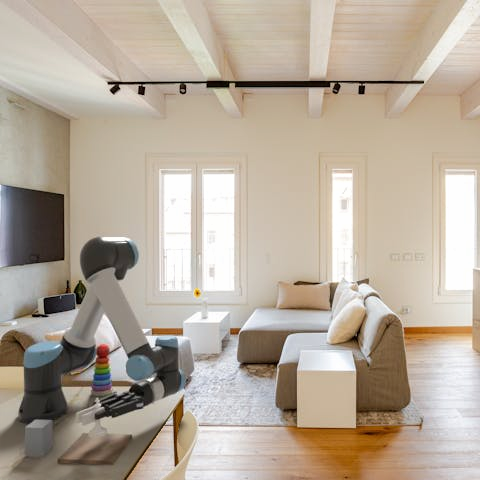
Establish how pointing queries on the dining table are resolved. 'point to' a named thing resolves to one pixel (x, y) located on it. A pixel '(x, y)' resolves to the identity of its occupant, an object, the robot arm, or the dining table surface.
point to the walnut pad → (96, 449)
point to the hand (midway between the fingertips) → (80, 419)
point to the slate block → (38, 438)
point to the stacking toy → (102, 373)
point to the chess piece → (97, 425)
